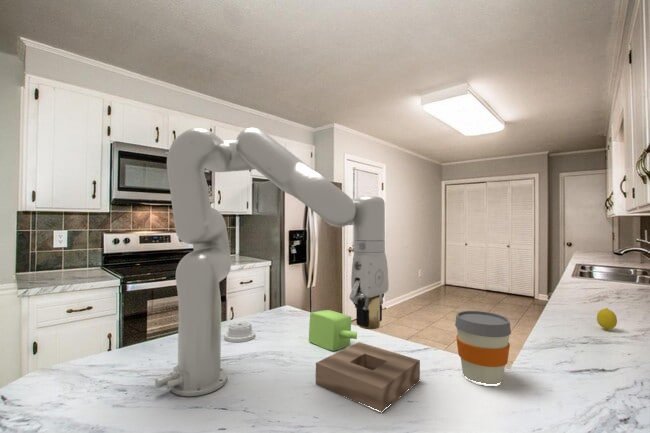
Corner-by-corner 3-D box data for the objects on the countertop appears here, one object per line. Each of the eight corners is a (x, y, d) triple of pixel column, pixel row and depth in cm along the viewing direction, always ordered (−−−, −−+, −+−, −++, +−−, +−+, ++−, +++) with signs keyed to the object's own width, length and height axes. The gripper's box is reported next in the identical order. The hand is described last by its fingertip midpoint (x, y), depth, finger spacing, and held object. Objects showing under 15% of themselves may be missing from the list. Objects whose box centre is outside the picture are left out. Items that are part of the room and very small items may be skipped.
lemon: (593, 328, 119) (593, 306, 119) (603, 327, 121) (603, 305, 121) (610, 333, 114) (610, 310, 114) (621, 332, 116) (620, 309, 116)
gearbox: (365, 349, 100) (366, 318, 100) (344, 356, 93) (345, 323, 93) (323, 333, 113) (325, 306, 113) (302, 339, 106) (304, 310, 106)
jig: (381, 413, 65) (381, 388, 65) (315, 383, 77) (315, 362, 77) (419, 380, 79) (419, 360, 79) (358, 359, 91) (358, 341, 91)
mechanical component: (220, 343, 103) (251, 343, 103) (220, 329, 103) (251, 329, 103) (229, 332, 113) (258, 332, 113) (229, 319, 113) (258, 320, 113)
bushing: (372, 330, 75) (372, 300, 75) (354, 326, 78) (354, 296, 78) (383, 325, 78) (383, 296, 79) (366, 321, 82) (366, 293, 82)
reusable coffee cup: (511, 373, 83) (511, 315, 83) (510, 396, 72) (510, 328, 73) (459, 362, 89) (459, 308, 90) (451, 381, 79) (451, 319, 79)
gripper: (362, 251, 70) (362, 336, 69) (399, 246, 83) (400, 318, 82) (335, 249, 74) (335, 328, 74) (374, 245, 87) (374, 312, 87)
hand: (369, 322), depth 78 cm, fingers closed on bushing, 5 cm apart
